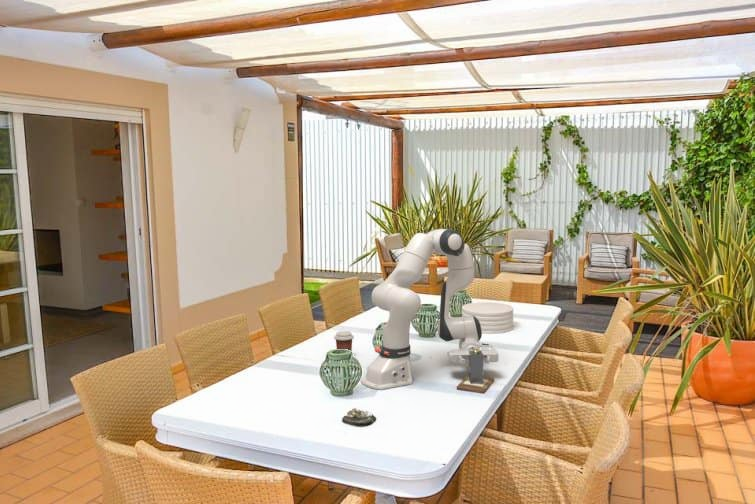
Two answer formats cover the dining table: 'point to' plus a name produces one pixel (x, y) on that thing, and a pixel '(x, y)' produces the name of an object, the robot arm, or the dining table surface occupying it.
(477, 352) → the block
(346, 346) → the coffee cup
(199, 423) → the dining table surface
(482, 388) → the walnut board
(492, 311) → the plate stack
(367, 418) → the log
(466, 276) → the robot arm
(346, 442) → the dining table surface
